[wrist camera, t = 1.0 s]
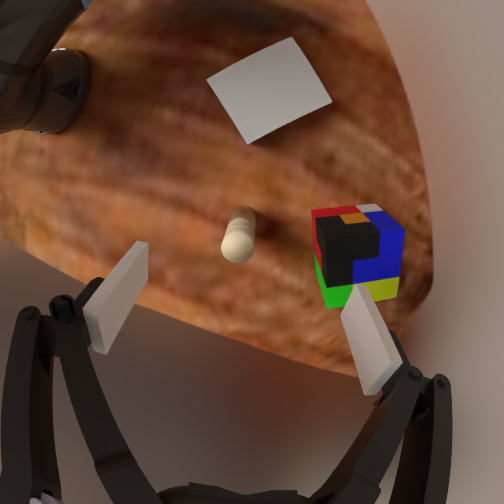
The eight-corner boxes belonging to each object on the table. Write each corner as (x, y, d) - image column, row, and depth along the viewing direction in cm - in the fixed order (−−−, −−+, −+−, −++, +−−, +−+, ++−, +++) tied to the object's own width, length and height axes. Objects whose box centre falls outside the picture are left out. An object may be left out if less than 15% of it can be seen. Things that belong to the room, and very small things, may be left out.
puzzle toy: (375, 203, 37) (404, 228, 28) (373, 261, 42) (396, 297, 33) (311, 209, 38) (325, 238, 29) (315, 269, 43) (326, 309, 34)
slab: (211, 83, 31) (206, 79, 28) (289, 43, 28) (291, 36, 25) (248, 142, 35) (247, 144, 32) (326, 103, 32) (332, 102, 28)
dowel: (226, 213, 39) (215, 243, 30) (248, 201, 38) (243, 228, 29) (239, 233, 40) (232, 267, 31) (260, 222, 39) (259, 254, 30)
